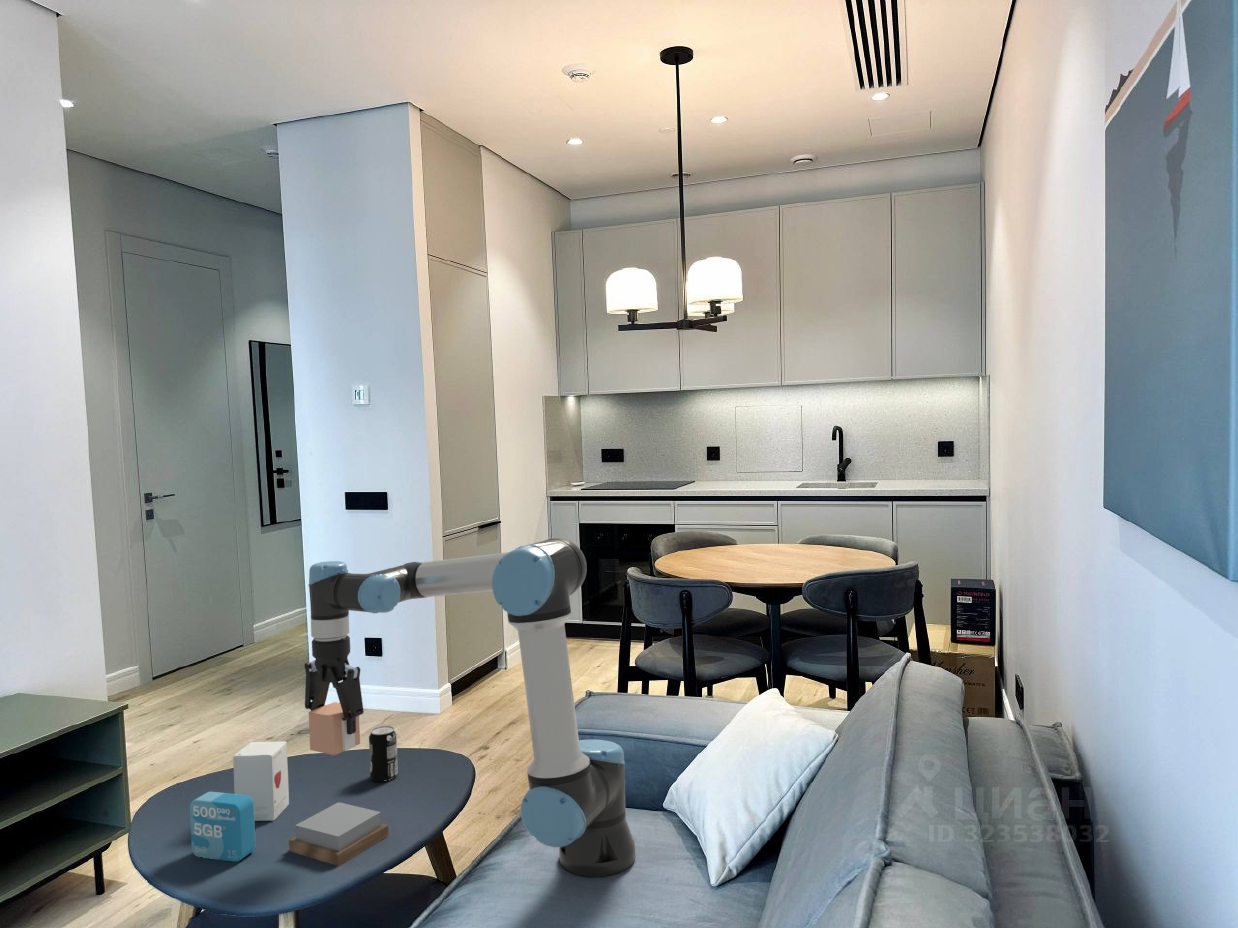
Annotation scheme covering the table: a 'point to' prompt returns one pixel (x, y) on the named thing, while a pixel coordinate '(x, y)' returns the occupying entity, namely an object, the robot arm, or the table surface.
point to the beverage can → (383, 753)
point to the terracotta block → (328, 729)
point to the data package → (222, 826)
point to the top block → (338, 826)
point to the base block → (342, 855)
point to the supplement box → (263, 777)
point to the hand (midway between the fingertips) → (335, 745)
